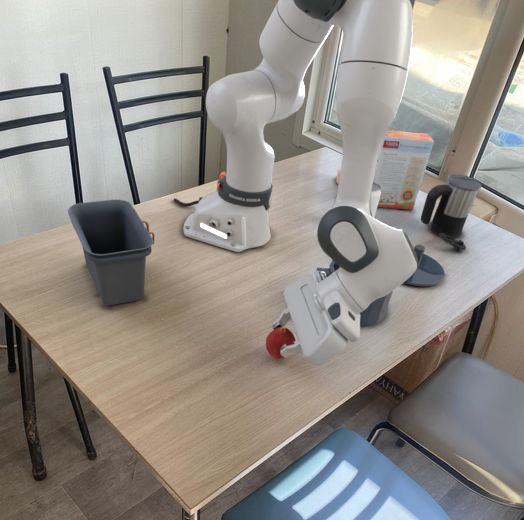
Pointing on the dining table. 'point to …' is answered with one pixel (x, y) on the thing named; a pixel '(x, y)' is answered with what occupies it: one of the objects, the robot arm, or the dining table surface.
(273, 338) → the onion
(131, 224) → the storage bin
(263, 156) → the robot arm
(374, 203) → the can
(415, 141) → the cracker box
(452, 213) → the milk frother
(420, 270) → the lid
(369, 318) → the pot
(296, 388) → the dining table surface
